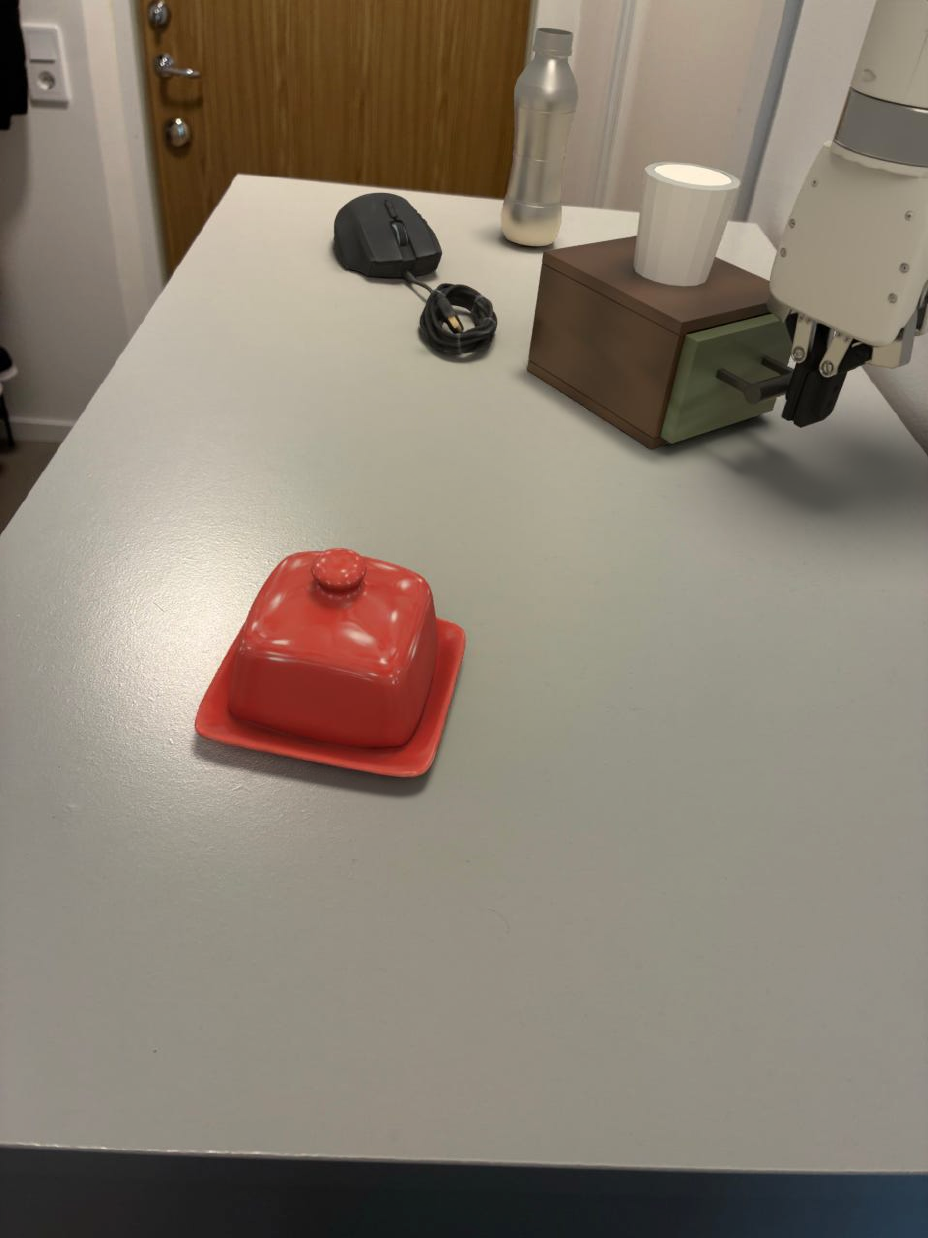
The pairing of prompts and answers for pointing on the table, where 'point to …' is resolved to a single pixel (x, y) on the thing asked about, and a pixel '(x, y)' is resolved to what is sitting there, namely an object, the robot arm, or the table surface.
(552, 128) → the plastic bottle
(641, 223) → the white cup
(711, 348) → the drawer
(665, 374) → the cabinet
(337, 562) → the butter dish
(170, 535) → the table surface
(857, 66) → the robot arm
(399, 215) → the computer mouse
